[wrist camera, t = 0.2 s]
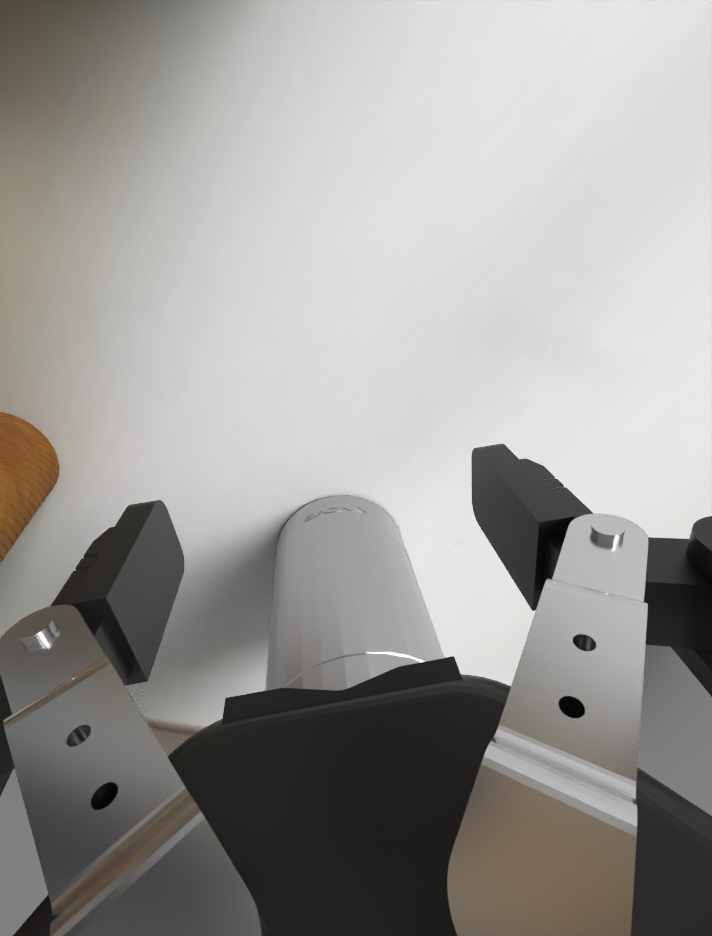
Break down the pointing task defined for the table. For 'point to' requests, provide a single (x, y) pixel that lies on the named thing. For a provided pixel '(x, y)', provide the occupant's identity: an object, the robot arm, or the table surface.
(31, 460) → the disposable coffee cup
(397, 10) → the table surface
